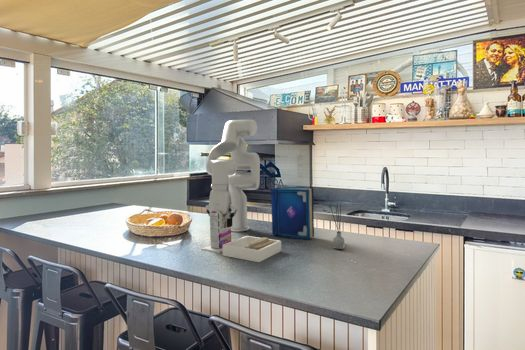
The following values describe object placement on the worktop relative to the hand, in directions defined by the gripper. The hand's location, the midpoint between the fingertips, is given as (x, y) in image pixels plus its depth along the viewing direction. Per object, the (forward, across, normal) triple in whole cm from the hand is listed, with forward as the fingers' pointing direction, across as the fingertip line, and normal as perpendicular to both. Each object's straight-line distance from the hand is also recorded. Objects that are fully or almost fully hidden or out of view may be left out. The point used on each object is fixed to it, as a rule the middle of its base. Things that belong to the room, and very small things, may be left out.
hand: (221, 225), depth 162 cm
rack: (+10, +17, -1) cm, 20 cm away
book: (+10, +19, +33) cm, 39 cm away
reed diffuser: (+10, +46, +24) cm, 53 cm away
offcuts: (+10, +22, -1) cm, 24 cm away
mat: (+10, 0, 0) cm, 10 cm away
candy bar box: (+9, 0, 0) cm, 9 cm away
